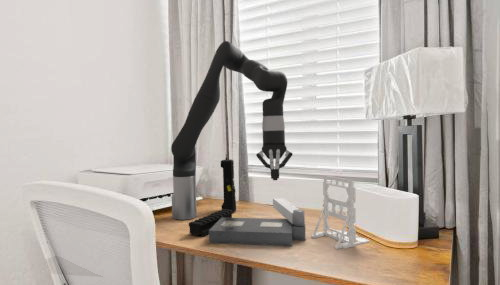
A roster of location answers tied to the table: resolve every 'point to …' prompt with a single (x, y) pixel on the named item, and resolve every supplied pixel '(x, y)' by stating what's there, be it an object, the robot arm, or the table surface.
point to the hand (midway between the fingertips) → (275, 179)
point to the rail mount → (208, 222)
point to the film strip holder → (340, 215)
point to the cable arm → (289, 211)
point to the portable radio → (228, 185)
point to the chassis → (255, 231)
